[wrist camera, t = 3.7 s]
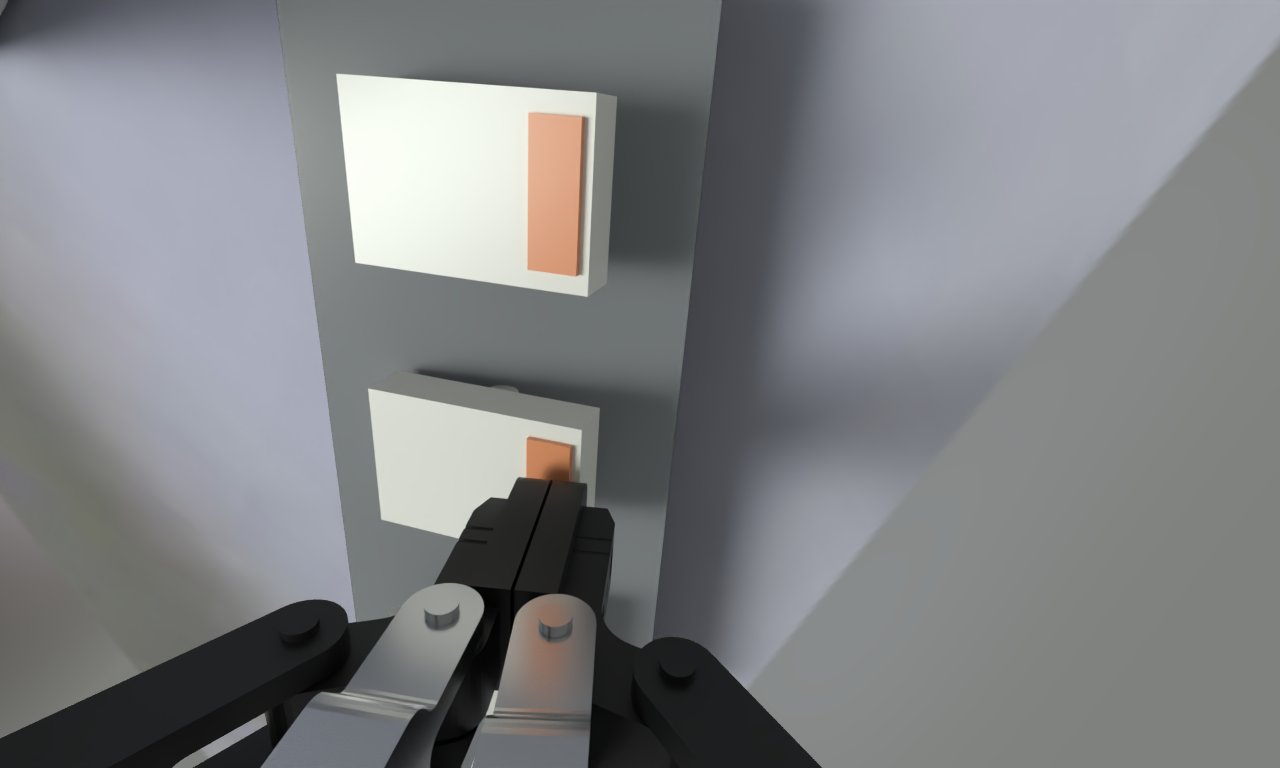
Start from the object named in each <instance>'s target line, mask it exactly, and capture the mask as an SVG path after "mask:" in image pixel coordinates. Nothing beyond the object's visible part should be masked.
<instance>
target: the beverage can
mask: <svg viewBox="0 0 1280 768" xmlns="http://www.w3.org/2000/svg"><path fill="white" fill-rule="evenodd" d="M7 2H8V0H0V16H1V14H2V13H3V10H4V8H5V6H6V4H7Z"/></svg>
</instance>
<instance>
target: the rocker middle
mask: <svg viewBox="0 0 1280 768" xmlns="http://www.w3.org/2000/svg"><path fill="white" fill-rule="evenodd" d="M368 393H369V403H370V413H371V422H372V432H373V442H374V452H375V462H376V472H377V482H378V492H379V501H380V511H381V520H385V521H389V522H393V523H397V524H402V525H406V526H410V527H414V528H418V529H422V530H426V531H430V532H434V533H438V534H442V535H446V536H451V537H455V538H459V537H460V535H461V533H462V531H463V530H464V529H465V527H466V524H467V522H468V520H469V518H470V516H471V515H472V513H473V511H474V510H475V509H476V508H477V507H479V506H480V505H481V504H483V503H484V502H485V501H486V500H488V499H489V498H490V497H494V498H504V499H508V497H509V495H510V492H511V490H512V488H513V486H514V484H515V482H516V480H517V478H518V477H526V478H536V479H546V480H552V483H553V481H554V480H558V481H568V482H578V483H587V507H594V504H595V486H596V468H597V450H598V432H599V414H600V408H597V407H592V406H587V405H581V404H576V403H570V402H565V401H560V400H554V399H549V398H544V397H538V396H533V395H527V394H522V393H519V391H518V389H517V388H515V387H512V386H507V385H498V386H492V387H484V386H479V385H474V384H468V383H463V382H457V381H452V380H447V379H441V378H436V377H431V376H425V375H420V374H414V373H409V372H404V371H398V372H397V373H395V374H393V375H391V376H389V377H388V378H386V379H384V380H382V381H380V382H379V383H377V384H375V385H373V386H371V387H370V388H368Z"/></svg>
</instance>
